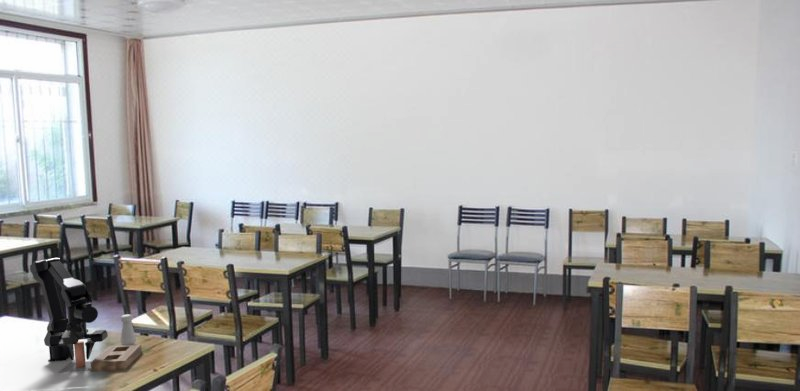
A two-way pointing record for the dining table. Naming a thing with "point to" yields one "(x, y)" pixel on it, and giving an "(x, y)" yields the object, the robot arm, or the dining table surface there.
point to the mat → (72, 367)
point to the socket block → (116, 357)
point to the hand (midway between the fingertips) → (80, 359)
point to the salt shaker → (127, 331)
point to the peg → (79, 354)
